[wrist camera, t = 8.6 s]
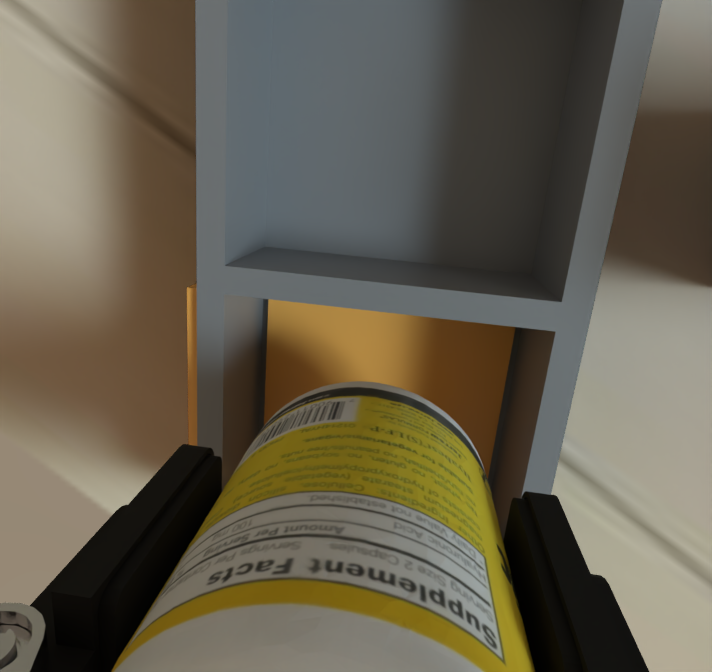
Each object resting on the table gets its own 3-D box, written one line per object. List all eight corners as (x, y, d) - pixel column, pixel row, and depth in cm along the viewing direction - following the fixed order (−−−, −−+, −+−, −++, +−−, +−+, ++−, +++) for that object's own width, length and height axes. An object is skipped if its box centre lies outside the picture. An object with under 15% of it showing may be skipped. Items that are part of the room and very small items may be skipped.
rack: (259, -523, 10) (168, -916, 7) (703, -532, 10) (882, -979, 6) (237, 487, 17) (186, 575, 14) (497, 524, 17) (520, 628, 13)
